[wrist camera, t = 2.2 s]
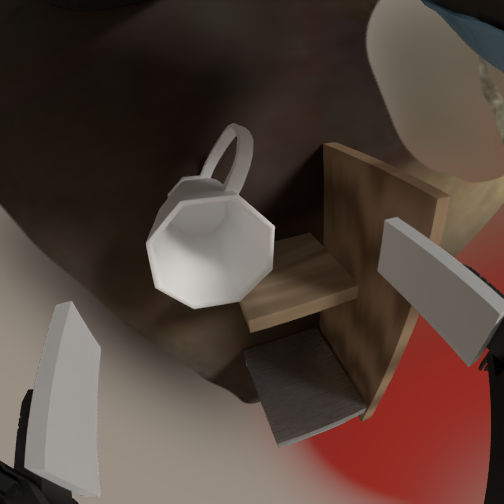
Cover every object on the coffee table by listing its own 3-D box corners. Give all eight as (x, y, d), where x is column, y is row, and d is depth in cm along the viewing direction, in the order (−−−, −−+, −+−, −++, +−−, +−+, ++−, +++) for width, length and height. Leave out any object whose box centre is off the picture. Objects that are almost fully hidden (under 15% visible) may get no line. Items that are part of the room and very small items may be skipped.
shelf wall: (322, 143, 22) (437, 199, 12) (335, 142, 22) (450, 196, 12) (317, 346, 35) (361, 421, 26) (325, 343, 36) (370, 417, 26)
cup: (139, 232, 21) (133, 300, 15) (179, 104, 17) (188, 109, 11) (222, 250, 24) (249, 317, 18) (270, 136, 20) (324, 162, 14)
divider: (222, 254, 24) (248, 320, 18) (310, 232, 26) (359, 285, 19) (224, 266, 25) (250, 332, 18) (310, 243, 26) (357, 297, 20)
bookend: (242, 350, 31) (278, 443, 22) (316, 326, 33) (366, 407, 23) (245, 362, 33) (278, 450, 23) (315, 339, 34) (361, 417, 25)
